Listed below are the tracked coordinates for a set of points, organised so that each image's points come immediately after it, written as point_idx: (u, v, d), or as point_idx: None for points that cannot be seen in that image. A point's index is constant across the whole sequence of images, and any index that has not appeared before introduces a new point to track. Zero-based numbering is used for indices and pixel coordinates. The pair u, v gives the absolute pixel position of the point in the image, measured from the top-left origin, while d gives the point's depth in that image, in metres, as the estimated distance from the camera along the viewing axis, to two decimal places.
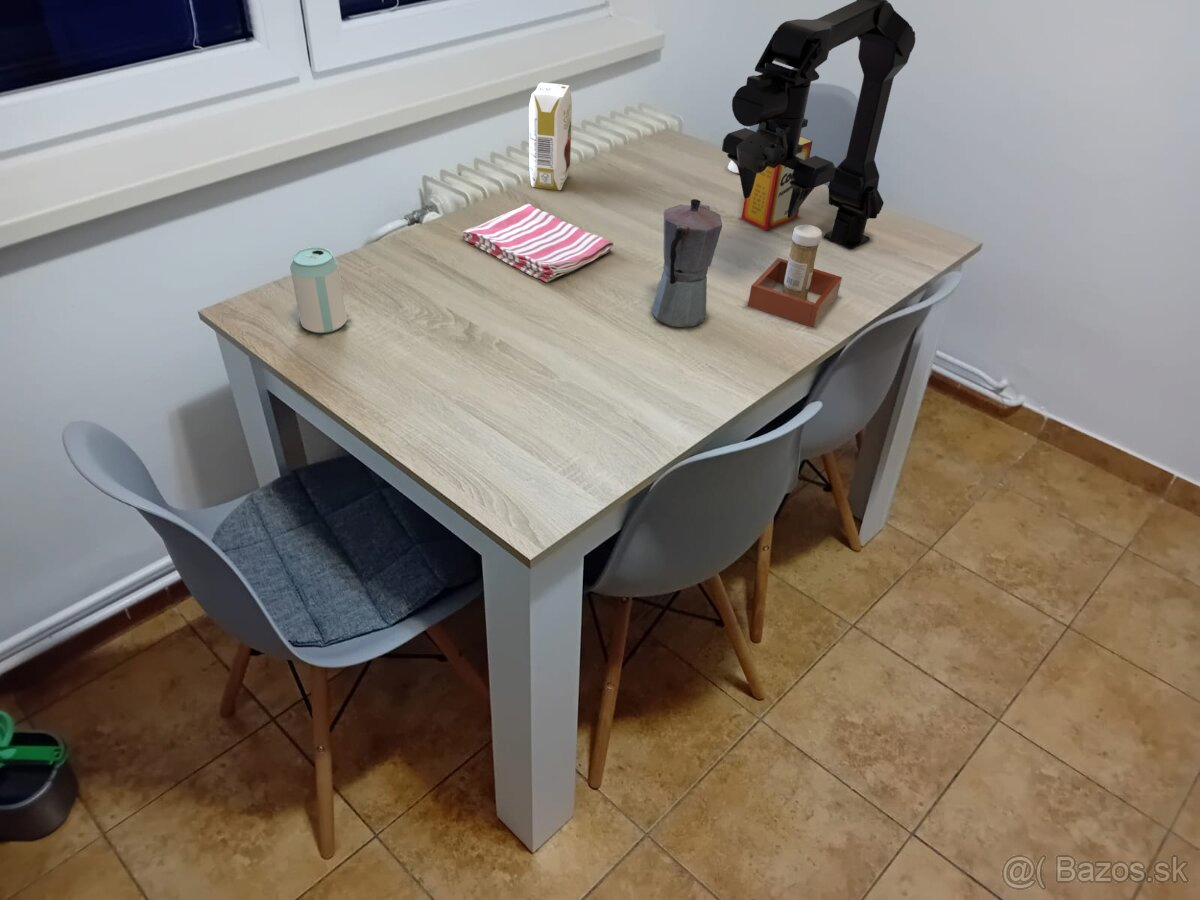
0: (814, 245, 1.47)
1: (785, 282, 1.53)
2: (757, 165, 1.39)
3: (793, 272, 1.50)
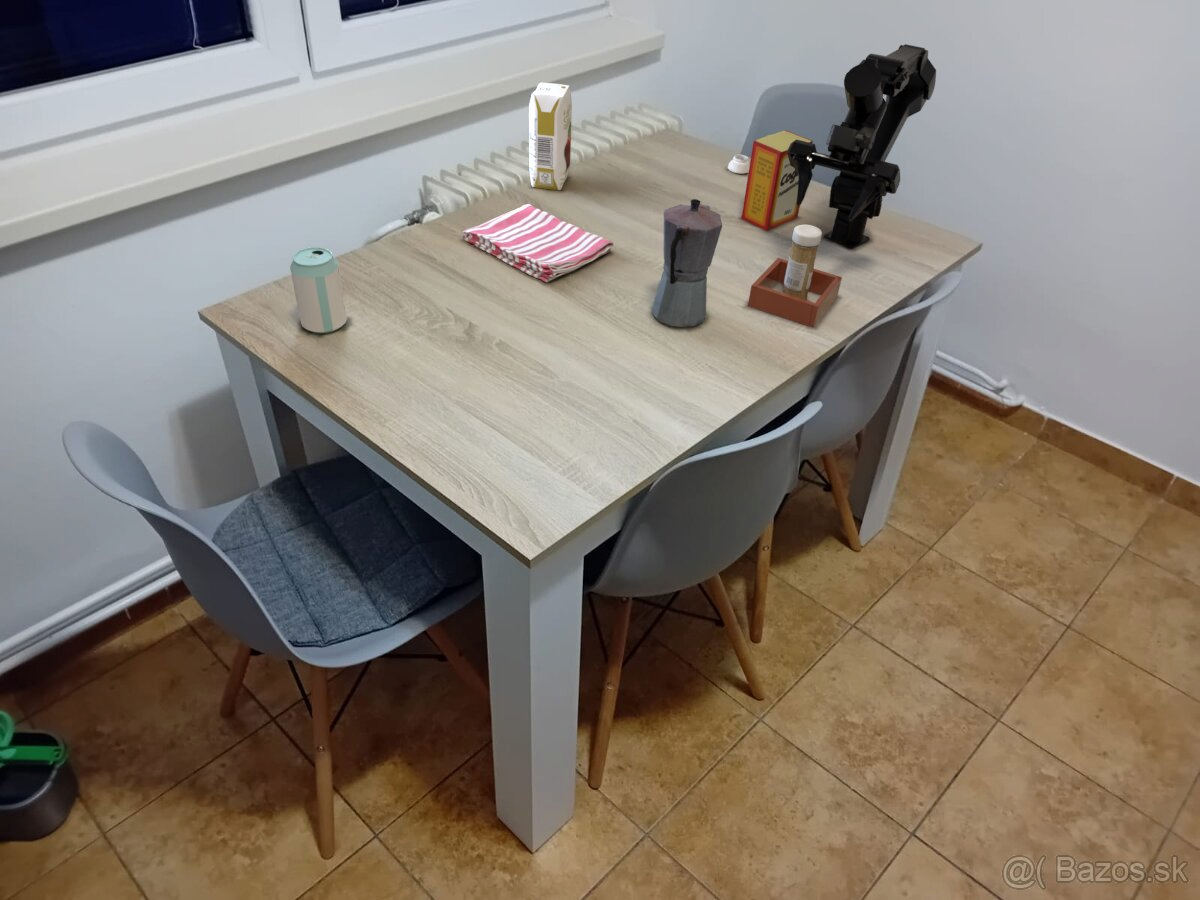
0: (814, 245, 1.47)
1: (785, 282, 1.53)
2: (854, 140, 1.44)
3: (793, 272, 1.50)
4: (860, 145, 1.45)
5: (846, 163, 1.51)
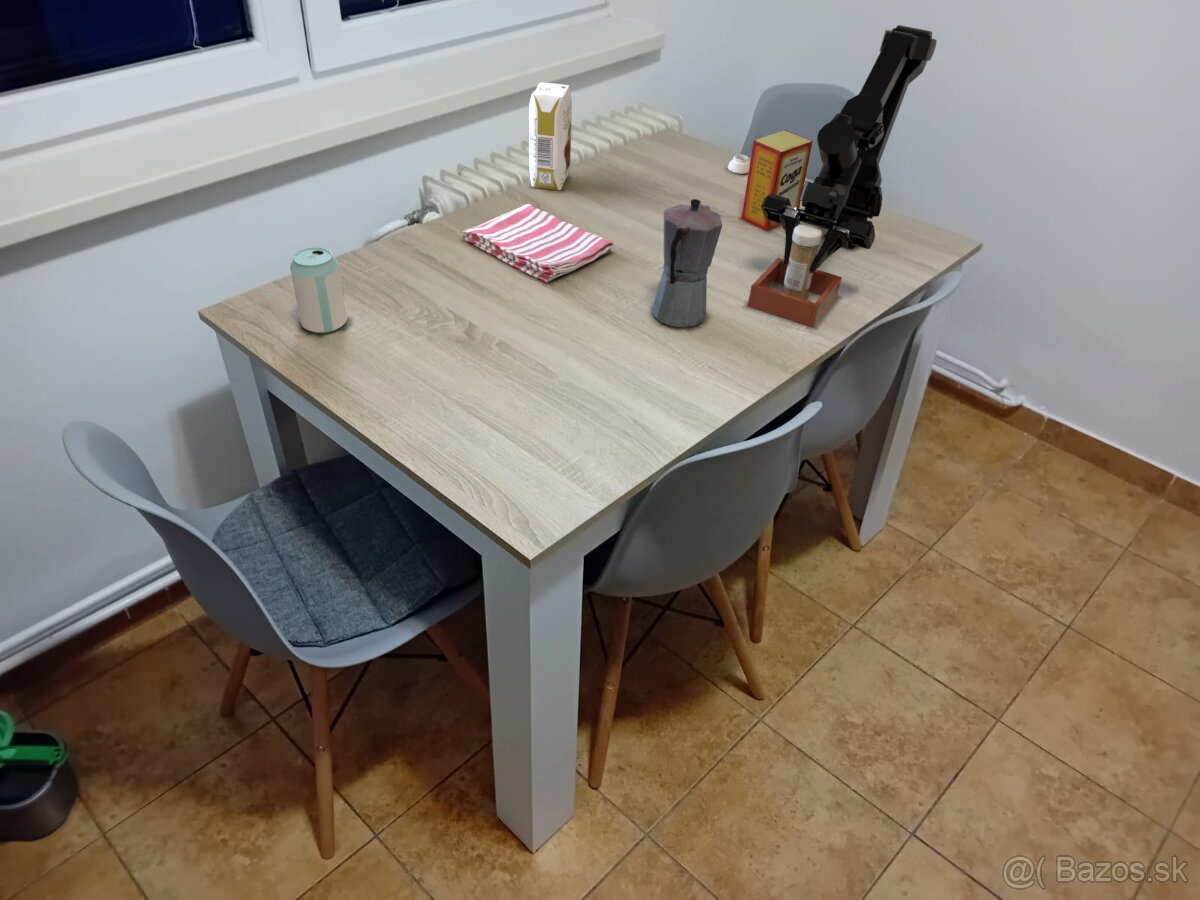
0: (814, 245, 1.47)
1: (785, 282, 1.53)
2: (827, 198, 1.43)
3: (793, 272, 1.50)
4: (833, 202, 1.43)
5: (820, 218, 1.49)
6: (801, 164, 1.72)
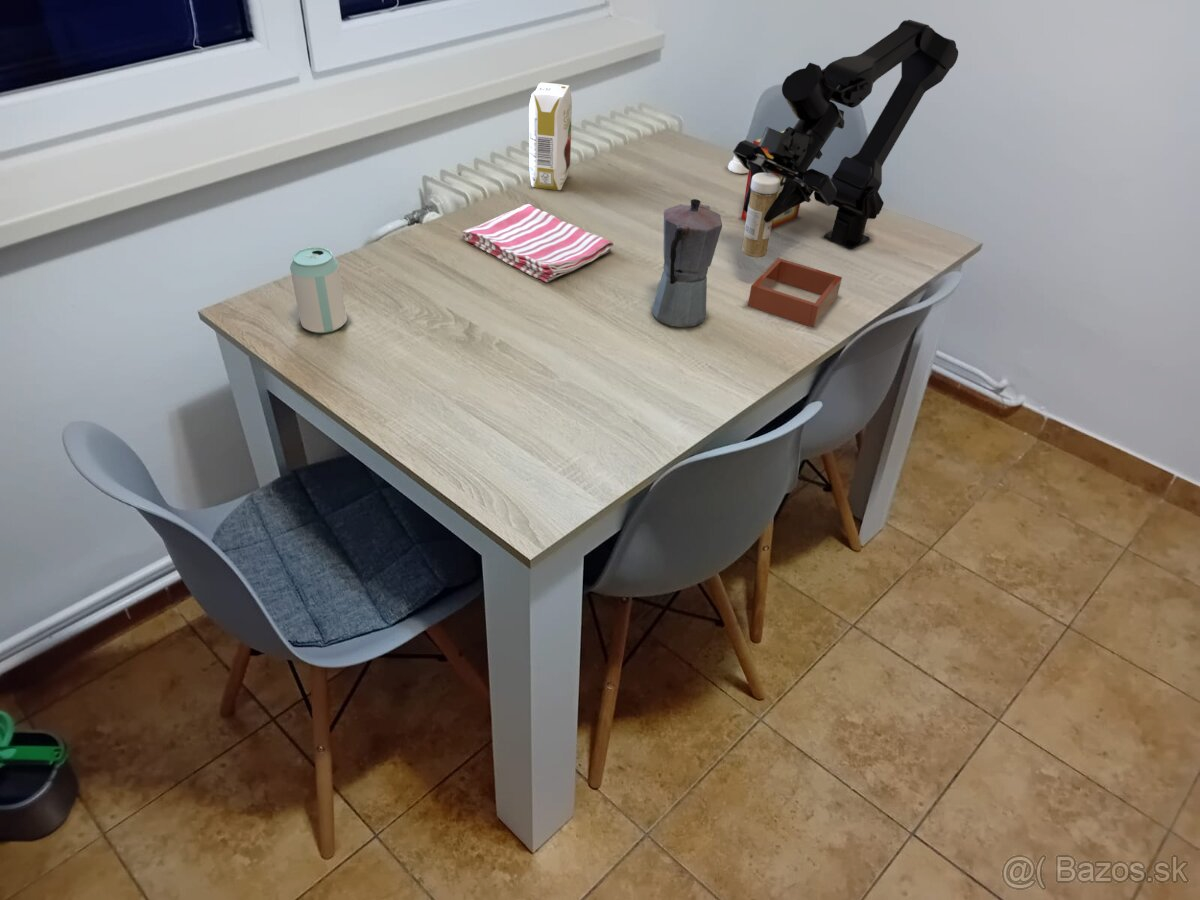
0: (768, 193, 1.47)
1: None
2: (781, 145, 1.42)
3: (749, 219, 1.51)
4: (788, 150, 1.43)
5: (784, 169, 1.48)
6: None
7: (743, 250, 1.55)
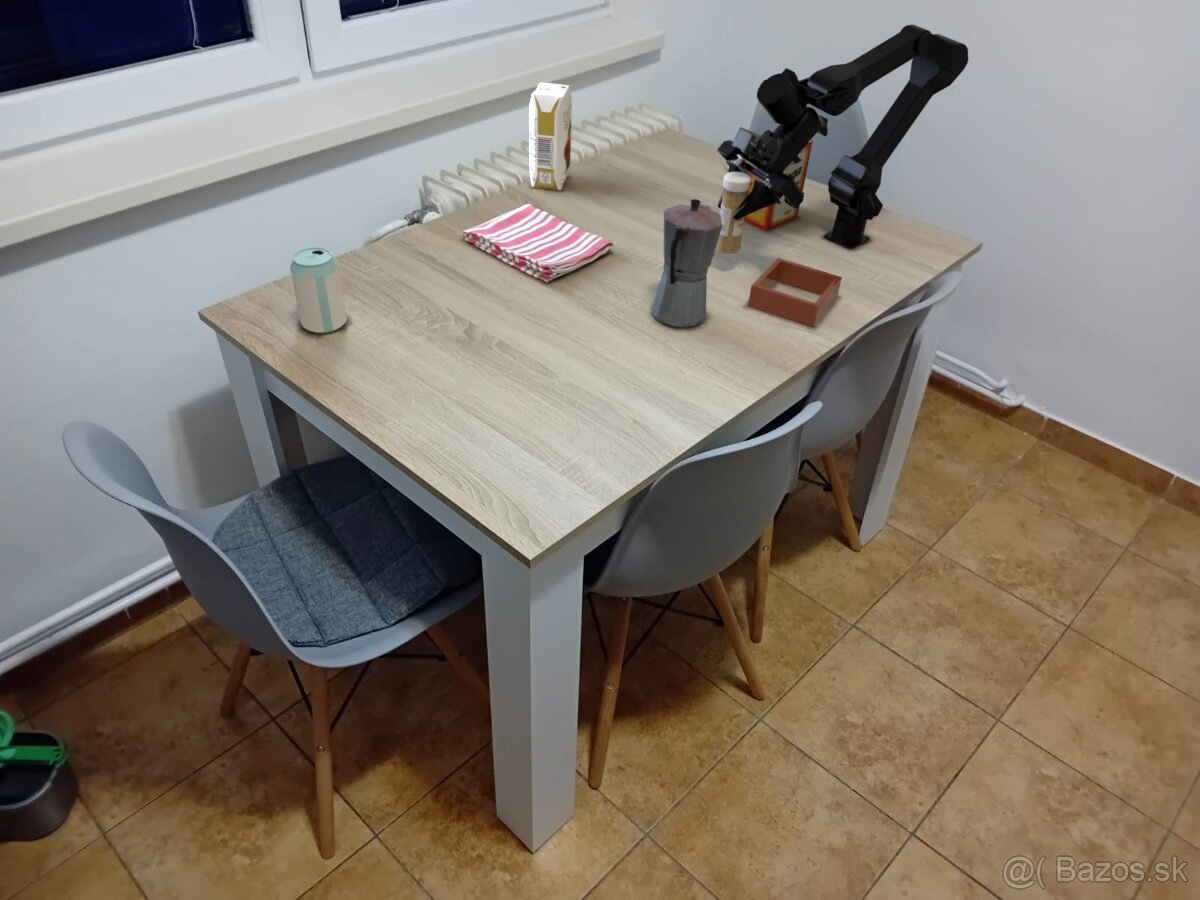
0: (737, 191, 1.52)
1: None
2: (749, 145, 1.47)
3: (721, 216, 1.56)
4: (756, 151, 1.47)
5: (758, 170, 1.53)
6: (801, 164, 1.72)
7: (716, 246, 1.60)
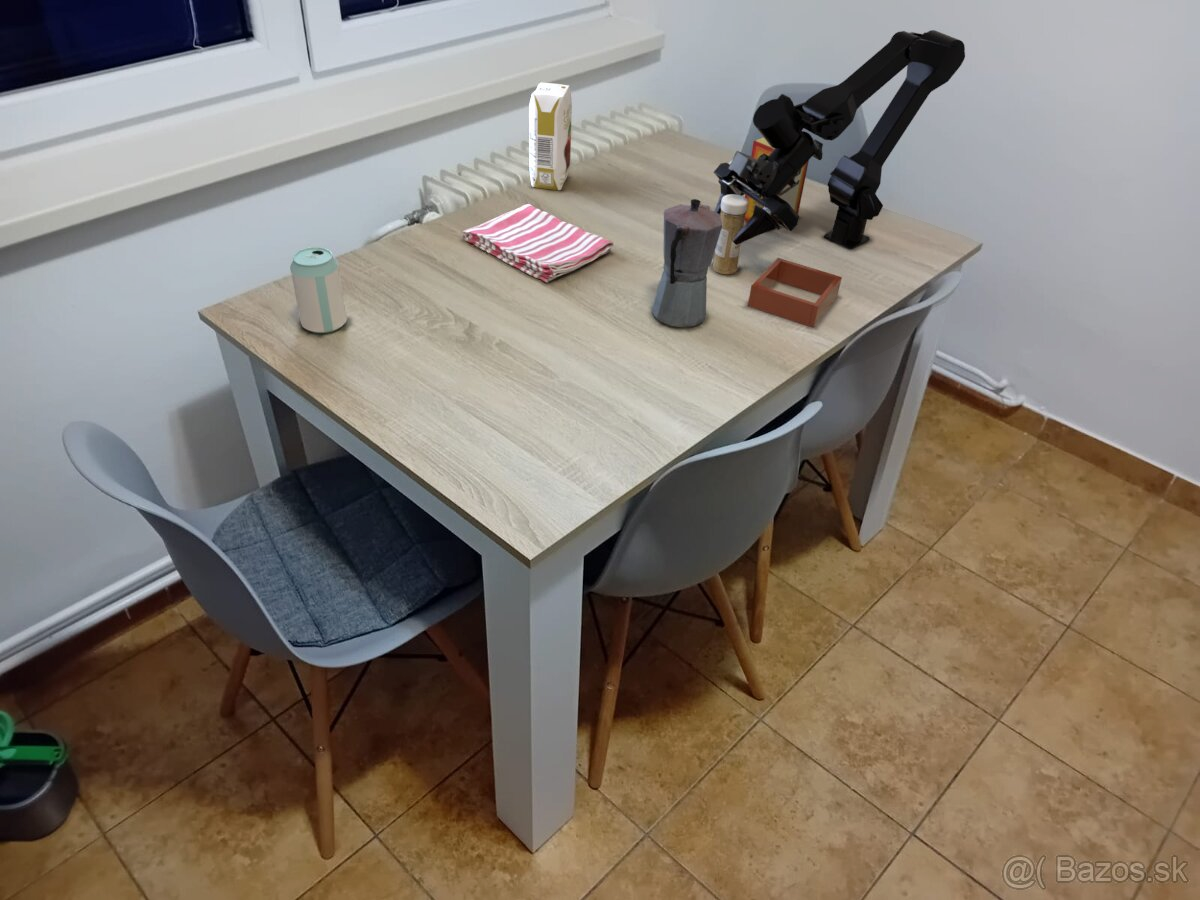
0: (734, 214, 1.54)
1: None
2: (745, 169, 1.50)
3: None
4: (752, 175, 1.50)
5: (754, 192, 1.55)
6: None
7: (713, 266, 1.63)
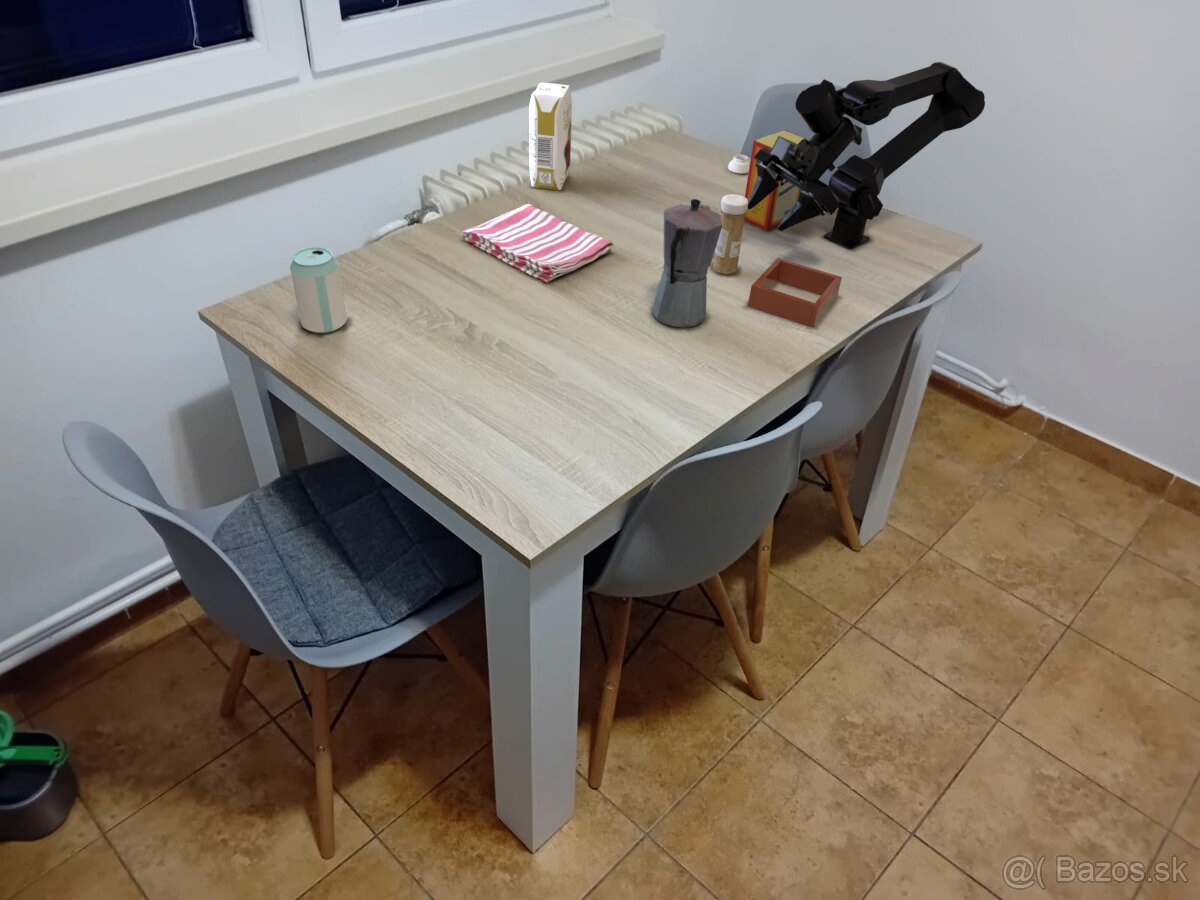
0: (734, 214, 1.54)
1: None
2: (788, 153, 1.52)
3: None
4: (794, 159, 1.52)
5: (794, 177, 1.58)
6: None
7: (713, 266, 1.63)
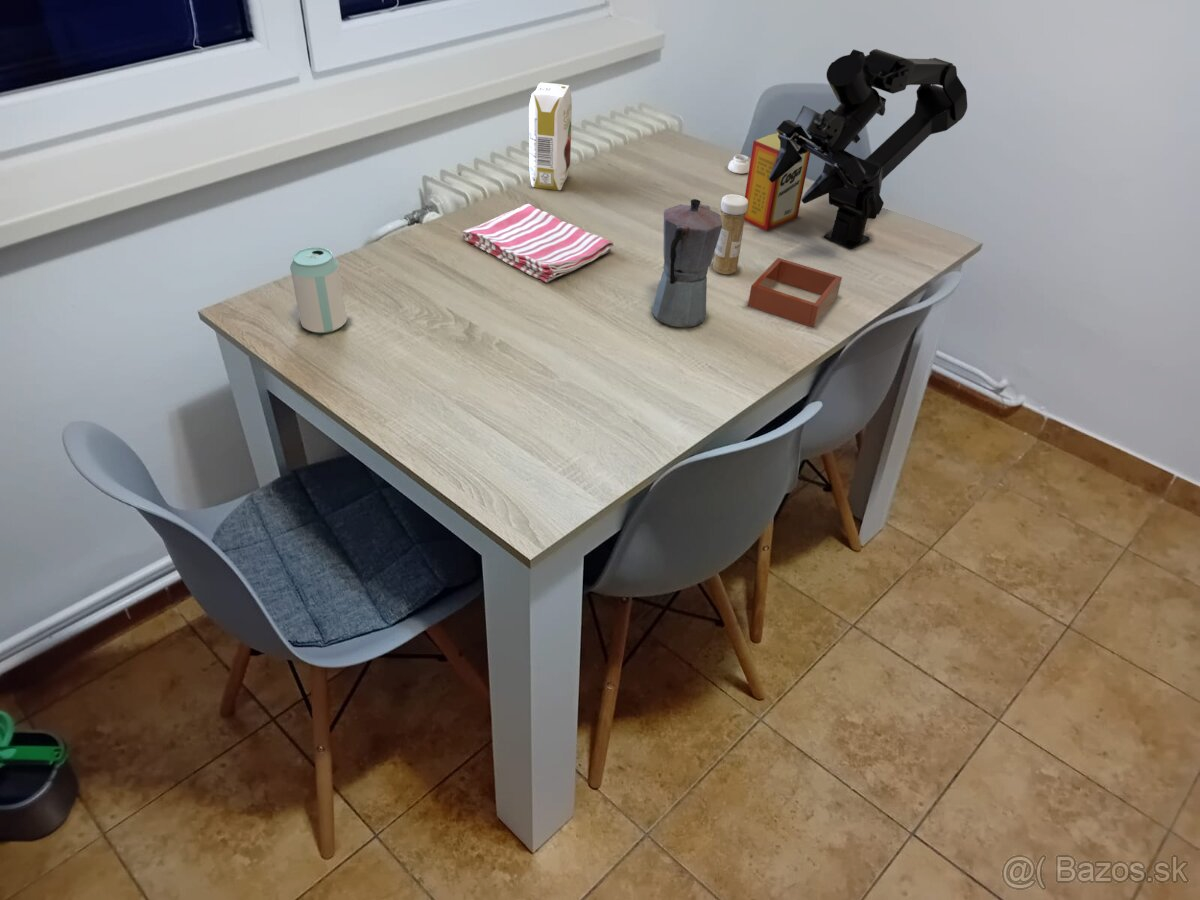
0: (734, 214, 1.54)
1: None
2: (813, 123, 1.49)
3: None
4: (820, 129, 1.49)
5: (819, 148, 1.55)
6: (801, 164, 1.72)
7: (713, 266, 1.63)
